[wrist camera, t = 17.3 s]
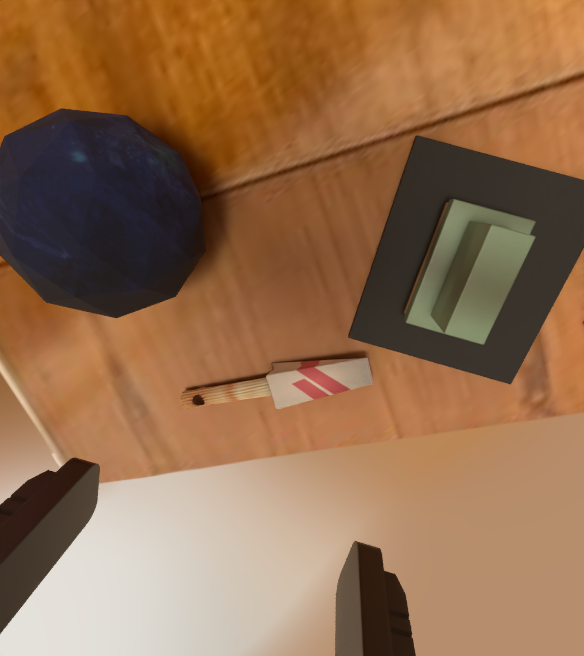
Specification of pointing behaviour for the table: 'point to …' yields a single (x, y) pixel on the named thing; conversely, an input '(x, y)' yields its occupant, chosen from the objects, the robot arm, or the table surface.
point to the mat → (416, 235)
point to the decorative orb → (98, 212)
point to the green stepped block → (468, 270)
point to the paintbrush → (289, 383)
